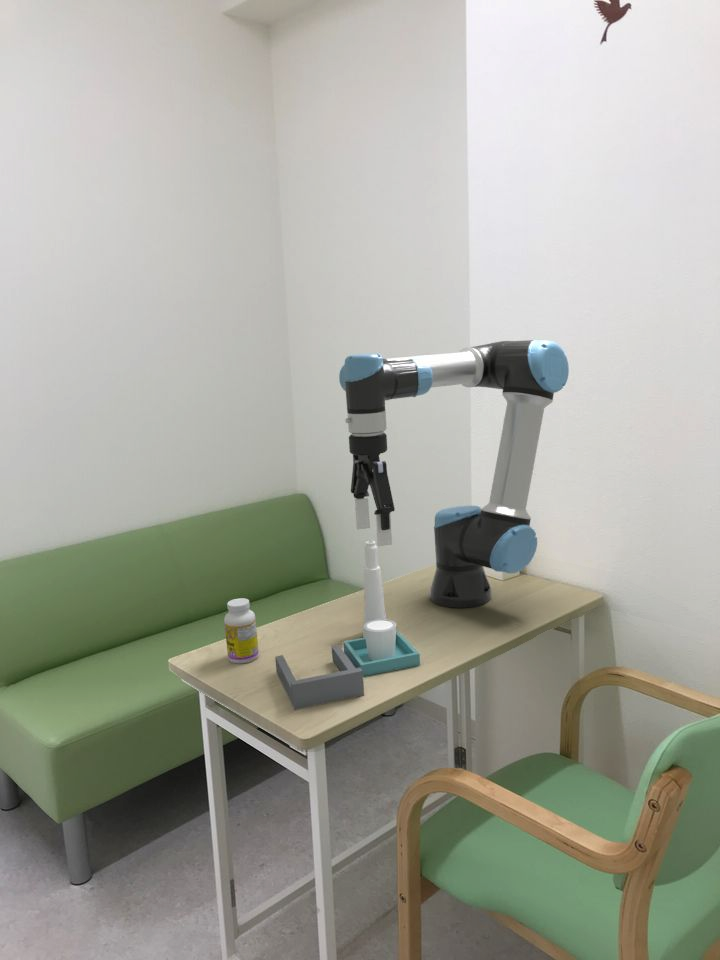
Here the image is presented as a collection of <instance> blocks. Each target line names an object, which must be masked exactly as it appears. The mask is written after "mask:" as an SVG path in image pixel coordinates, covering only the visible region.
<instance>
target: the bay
mask: <svg viewBox="0 0 720 960" xmlns="http://www.w3.org/2000/svg"><path fill="white" fill-rule="evenodd" d="M330 648H331V660H332V663H333V665H334V666H335V668H336V669H337V670H338V671H336V672H331V673H326V674H321V675H317V676H310V677H305V678H299V679H296V677H295V676H294V674H293V672H292V670H291V668H290V666H289V664H288V662H287V661H286V659H285V656H284V655H283V654H281V655H275V657H274V660H275V661H274V662H275V670H276V671H275V672H276V674H277V676H278V678H279V681H280V683H281V684H282V687H283V688H284V690H285V693H286V694H287V698H288V699H289V701H290V703H291V706H292V707H293V709H294V710H301V709H306V708H309V707H315V706H319V705H324V704H330V703H333V702H338V701H343V700H348V699H352V698H353V699H354V698H357V697H362V696H365V687H364V676H363V671H362V669H361V668H355V666H354V665H353V664H352V662H351V661H350V659H349V658H348V657H347V655H346V654H345V653H344V649H342V646H340V644H336V645H335V644H334V645H331V647H330Z"/></svg>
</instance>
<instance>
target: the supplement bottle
mask: <svg viewBox="0 0 720 960" xmlns="http://www.w3.org/2000/svg"><path fill="white" fill-rule="evenodd" d="M226 606H227V610H228V613H226V614H225V616H224V619H223V620H224V622H223V623H224V630H225V631H224V632H225V641H226V650H227V658H228V660H229V661H230V662H231V663H234V664H248V663H251V662H253V661H255V660H257V658H259V656H260V655H259V652H260V651H259V650H260V649H259V642H258V631H257V630H258V629H257V622H256V620H257V619H256V615H255V612H254V611H252V610H251V609H250V606H251V605H250V600H249V599H248V598H244V597H242V598H234V599H231V600H229V601H228V602H227V604H226Z"/></svg>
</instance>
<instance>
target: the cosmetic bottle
mask: <svg viewBox="0 0 720 960" xmlns="http://www.w3.org/2000/svg"><path fill="white" fill-rule="evenodd" d="M378 556H379V555H378V545H376V541H375V540H368V541H365V545H364V560H365V566H364V568H363V588H364V589H363V590H364V591H363V593H364V594H363V595H364V598H363V599H364V601H363V602H364V605H363V606H364V609H363V610H364V612H363V613H364V619H363V625H364V624H365V623H367V622H369V621H372V620H377V619H387V615H386V607H385V600H384V598H385V597H384V588H383V579H382V572H381V566H380V565H379V557H378ZM362 638H365V632H364V628H363V630H362Z"/></svg>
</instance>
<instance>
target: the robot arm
mask: <svg viewBox="0 0 720 960" xmlns="http://www.w3.org/2000/svg"><path fill="white" fill-rule="evenodd" d="M569 369H570V368H569V362H568V358H567V355H566V354H565V351H564V349H563V348H562V347H561V346H560V345H559V344H558V343H556V342H555V341H552V340H544V339H543V340H541V339H533V340H531V339H530V340H529V339H528V340H527V339H526V340H501V341H495V342H490V343H486V344H482V345H477V346H468V347H463V348H462V349H460V350H459V351H457V352H447V353H446V352H445V353H435V354H434V353H433V354H425V355H424V354H422V355H420V354H419V355H411V356H408V355H407V356H400V357H388V358H387V357H385V358H383V356H382V354H381V353H361V354H359V353H358V354H351V355H348V356H346V358H345V359H344V364H343V365H342V367H341V368H340V371H339V374H338V377H339V378H338V379H339V380H338V381H339V384H340V387H341V388H342V390H343V391H344V392H345V400H346V411H347V418H345V423H346V424H347V426H348V427H347V428H348V429H347V430H348V433H350V434H349V436H348V444H349V445H348V447H349V452H350V454H352V460H353V461H352V462H353V463H352V474H351V475H352V476H351V485H350V492H351V494H353V498H354V506H355V507H354V508H355V522H356V523H355V524H356V530H358V531H359V530H366V529H370V528H371V523H370V510H369V509H370V508H369V507H370V506H369V498H368V497H370V494H369V490H368V489H369V487H370V491H371V493H372V497H373V500H374V503H375V504H374V505H375V507H376V509H375V510H374V516H375V522H376V524H375V525H376V537H377V539H376V541H377V547H384V546H390V545H393V540H392V539H393V538H392V519H391V514H392V512H395V510H396V509H395V504H394V499H393V495H392V490H391V485H390V479H389V476H388V469H387V462H386V460H384V461H383V460H382V461H381V459H380V455H381V454H384V453H386V452H387V451H388V438H387V434H386V430H387V413H386V401H390V400H397V399H405V398H406V399H407V398H416V397H419V396H423V395H425V394H427V393H428V392H429V391H430V389H432V388H439V387H447V386H448V387H449V386H457V385H462V386H463V387H465V388H478V387H479V388H490V389H496V390H502V391H501V395H502V397H503V398H504V399H505V400H506V409H505V414H504V420H503V424H502V430H501V435H500V440H499V441H500V442H499V446H498V452H497V457H496V463H495V468H494V475H493V478H492V485H491V490H490V496H489V501H488V503H487V504H486V505H485V506H483V507H482V508H481V506H478V505H461V506H459V505H458V506H452V507H447V508H444V509H443V508H442V509H441V510H438V511H437V512H436V513H435V515H434V526H433V530H434V531H433V533H434V534H433V535H434V547H435V549H434V550H435V560H436V563H435V572H434V575H433V579H432V582H431V586H430V590H429V591H430V600H432V602H433V603H434V604H437V605H440V606H444V607H449V608H457V609H459V608H462V609H463V608H473V607H478V606H480V605H484V604H486V603H487V602H489V601H490V600H491V599H492V588H491V586H490V582H489V579H488V577H487V573H486V571H485V569H484V567H485V568H488V569H490V570H493V571H495V572H500V573H505V574H516V573H518V572H522V571H523V570H524V569H525V568H526V567H527V566H529V564H530V563H531V562H532V560H533V558H534V557H535V554H536V552H537V547H538V537H537V536H536V535H537V533H536V531H535V529H533V528H532V527H531V521H532V520H531V519H532V517H531V516H530V514H529V513H528V511H527V505H528V499H529V493H530V488H531V483H532V478H533V471H534V467H535V461H536V455H537V450H538V446H539V444H538V443H539V439H540V434H541V433H540V432H541V429H542V428H541V427H542V424H543V423H542V422H543V418H544V411H545V409H546V407H547V406H549V405H551V404H552V403H553V400H554V399H553V398H554V394H555V393H558V392H560V391H561V390H562V389H563V388H564V386H565V385H566V384H567V381H568V379H569V373H570V372H569Z"/></svg>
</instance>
